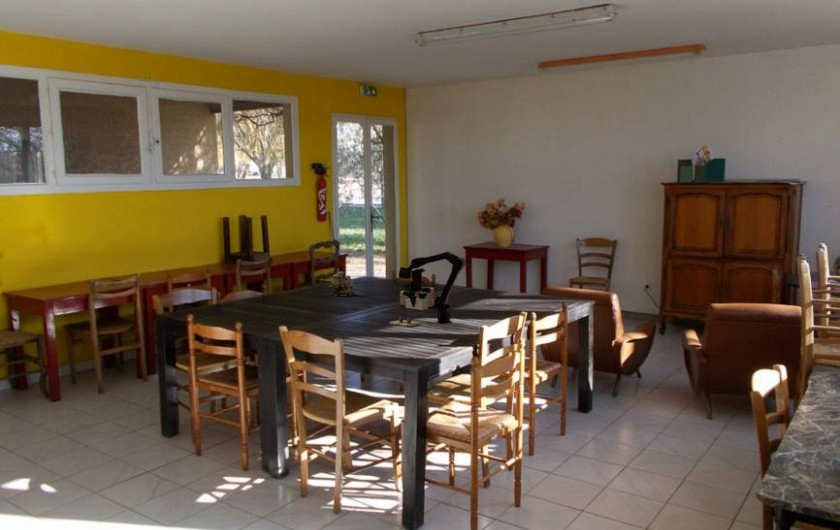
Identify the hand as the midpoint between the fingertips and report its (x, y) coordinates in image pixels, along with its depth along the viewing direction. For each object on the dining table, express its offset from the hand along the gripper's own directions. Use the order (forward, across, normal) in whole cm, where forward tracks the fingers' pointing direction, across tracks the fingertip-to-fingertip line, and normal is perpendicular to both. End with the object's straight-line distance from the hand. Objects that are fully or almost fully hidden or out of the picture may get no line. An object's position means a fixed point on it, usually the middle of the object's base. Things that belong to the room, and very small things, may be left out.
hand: (417, 306), depth 411 cm
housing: (+1, 0, 0) cm, 1 cm away
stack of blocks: (+9, -36, -30) cm, 48 cm away
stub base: (+8, +12, +1) cm, 15 cm away
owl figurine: (+9, -35, -99) cm, 105 cm away
